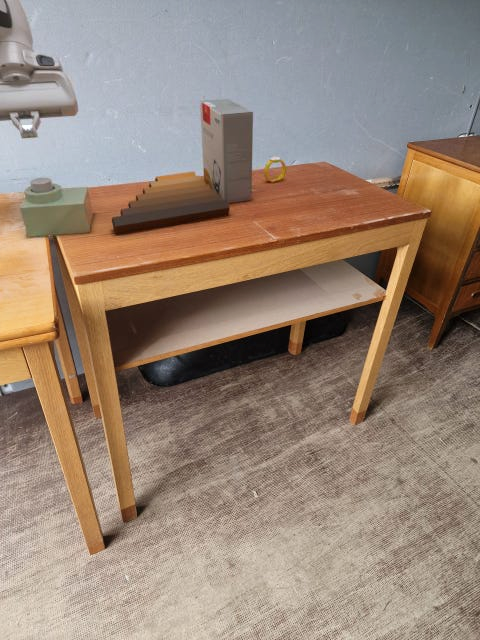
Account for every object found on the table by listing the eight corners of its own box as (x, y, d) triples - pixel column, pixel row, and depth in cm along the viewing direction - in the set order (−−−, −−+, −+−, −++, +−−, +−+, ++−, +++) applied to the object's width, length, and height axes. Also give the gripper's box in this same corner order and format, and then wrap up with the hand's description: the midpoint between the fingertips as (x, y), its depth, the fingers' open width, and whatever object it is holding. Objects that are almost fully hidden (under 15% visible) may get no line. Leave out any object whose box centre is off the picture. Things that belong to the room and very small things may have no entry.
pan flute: (116, 236, 90) (229, 216, 98) (114, 220, 88) (229, 201, 96) (96, 196, 108) (192, 182, 117) (93, 182, 106) (192, 169, 115)
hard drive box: (203, 184, 116) (199, 100, 104) (230, 180, 118) (229, 98, 106) (222, 205, 104) (220, 112, 92) (252, 200, 106) (254, 110, 94)
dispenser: (28, 237, 90) (16, 198, 85) (36, 218, 97) (26, 181, 93) (89, 232, 91) (81, 194, 87) (92, 213, 99) (85, 178, 95)
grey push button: (31, 194, 88) (28, 184, 87) (34, 188, 91) (31, 178, 90) (52, 193, 88) (49, 183, 87) (55, 186, 92) (52, 177, 90)
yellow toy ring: (281, 177, 120) (282, 155, 116) (287, 180, 118) (288, 157, 114) (262, 181, 118) (263, 158, 114) (267, 184, 116) (268, 161, 112)
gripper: (-50, 62, 80) (-37, 130, 79) (67, 58, 87) (82, 122, 85) (-39, 86, 86) (-26, 150, 85) (71, 81, 92) (84, 141, 91)
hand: (29, 136), depth 85 cm, fingers closed
